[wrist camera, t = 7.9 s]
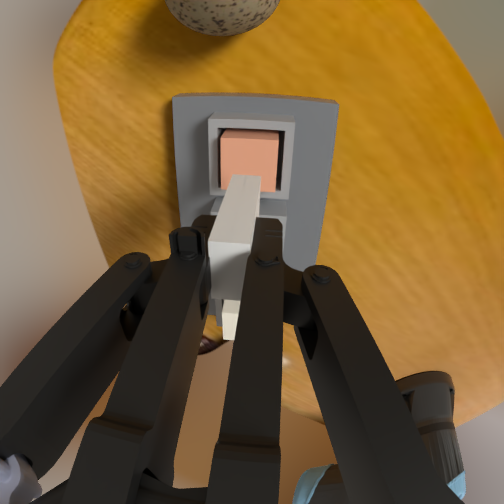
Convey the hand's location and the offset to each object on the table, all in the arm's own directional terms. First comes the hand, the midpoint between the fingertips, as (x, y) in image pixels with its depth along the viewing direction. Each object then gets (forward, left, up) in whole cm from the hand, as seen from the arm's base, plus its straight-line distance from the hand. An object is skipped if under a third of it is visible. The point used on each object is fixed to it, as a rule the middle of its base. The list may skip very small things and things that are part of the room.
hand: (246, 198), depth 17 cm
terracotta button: (+1, 0, -7) cm, 7 cm away
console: (-6, 0, -9) cm, 11 cm away
